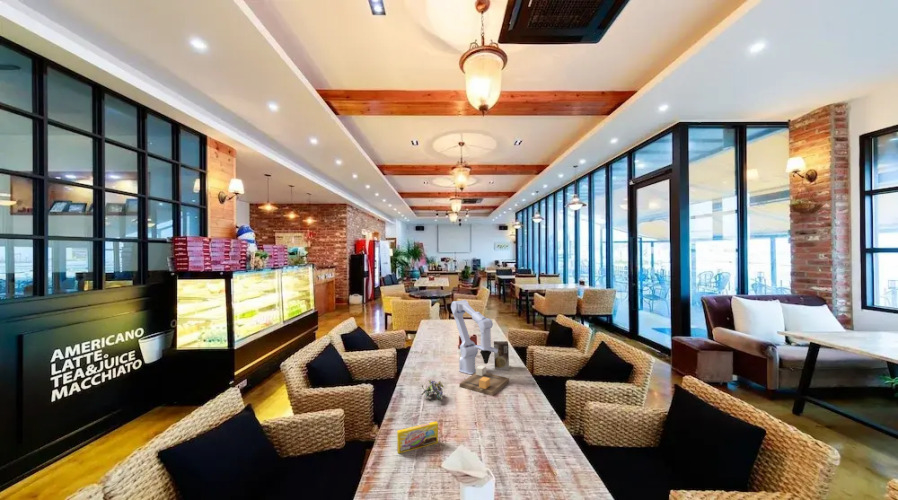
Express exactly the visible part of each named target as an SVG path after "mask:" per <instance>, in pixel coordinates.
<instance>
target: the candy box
mask: <svg viewBox="0 0 898 500" xmlns="http://www.w3.org/2000/svg"><path fill="white" fill-rule="evenodd" d="M396 439H397V440H396V444H397V445H396V451H397V454H398V455H399V454H403V453H406V452H410V451H413V450H417V449H421V448H424V447H429V446H431V445H432V446H433V445H436V444H439V422H438V421H431V422H427V423H422V424H419V425H413V426H410V427H406V428H402V429H397V430H396Z"/></svg>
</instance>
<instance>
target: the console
mask: <svg viewBox="0 0 898 500" xmlns="http://www.w3.org/2000/svg"><path fill="white" fill-rule="evenodd" d="M482 377H487V378H490V386H489V387H488V388H486V389H483V388H480V387H479V379H481V378H482ZM509 383H510V377H505V376H501V375H499V374H498V375H497V374H493V373H488V372H486V374H484V375H483V376H480V375H476V372H475V373H473V374H471V375H470V376H468V377H467V378H465V379H464V380H462V381H460V382H459V388H463V389H466V390H468V391H469V390H470V391H473V392H477V393H480V394H483V395H488V396H491V397H493V396H494V395H495V394H497V392H499V391H500V390H501V389H502V388H504V387H505V386H506V385H507V384H509Z"/></svg>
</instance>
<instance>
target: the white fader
mask: <svg viewBox="0 0 898 500" xmlns="http://www.w3.org/2000/svg"><path fill="white" fill-rule="evenodd" d="M475 369H476V372H475V373H476V375H480V376H483V375H484V374H486V373H487V366H486V365H481V364H480V365H478V366H475Z"/></svg>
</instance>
